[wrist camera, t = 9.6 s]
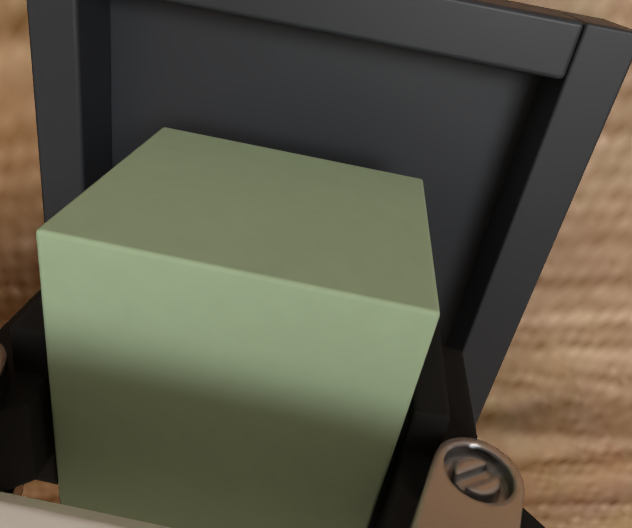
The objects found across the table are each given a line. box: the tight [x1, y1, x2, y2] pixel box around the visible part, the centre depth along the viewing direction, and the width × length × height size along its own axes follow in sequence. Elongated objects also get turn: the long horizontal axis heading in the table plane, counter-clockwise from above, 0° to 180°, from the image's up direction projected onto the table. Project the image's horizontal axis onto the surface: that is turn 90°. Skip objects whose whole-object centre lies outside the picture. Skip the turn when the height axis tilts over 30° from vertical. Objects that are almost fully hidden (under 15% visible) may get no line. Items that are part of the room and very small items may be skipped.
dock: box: [27, 0, 632, 425], centre depth 14 cm, size 11×13×2 cm
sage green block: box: [36, 127, 440, 528], centre depth 11 cm, size 5×7×4 cm
